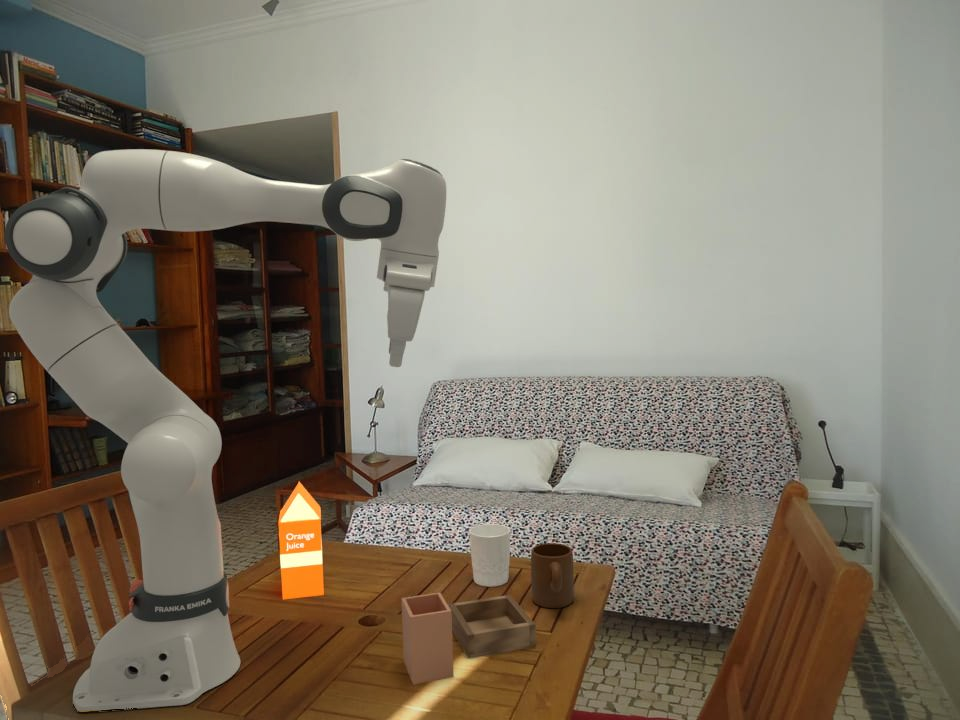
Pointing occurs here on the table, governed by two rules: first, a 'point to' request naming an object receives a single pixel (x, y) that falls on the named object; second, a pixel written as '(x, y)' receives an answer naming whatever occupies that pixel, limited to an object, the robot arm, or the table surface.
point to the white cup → (490, 554)
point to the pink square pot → (427, 638)
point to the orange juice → (301, 546)
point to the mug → (552, 575)
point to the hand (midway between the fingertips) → (394, 360)
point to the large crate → (492, 626)
